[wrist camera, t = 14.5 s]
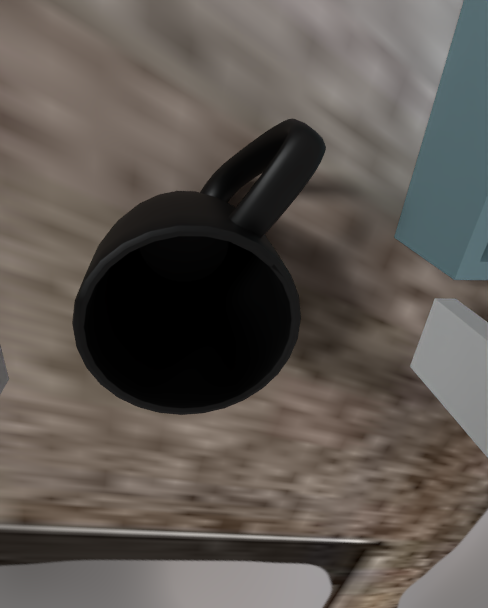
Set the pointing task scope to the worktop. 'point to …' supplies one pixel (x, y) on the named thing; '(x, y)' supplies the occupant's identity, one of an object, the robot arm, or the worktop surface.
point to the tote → (454, 160)
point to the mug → (199, 285)
